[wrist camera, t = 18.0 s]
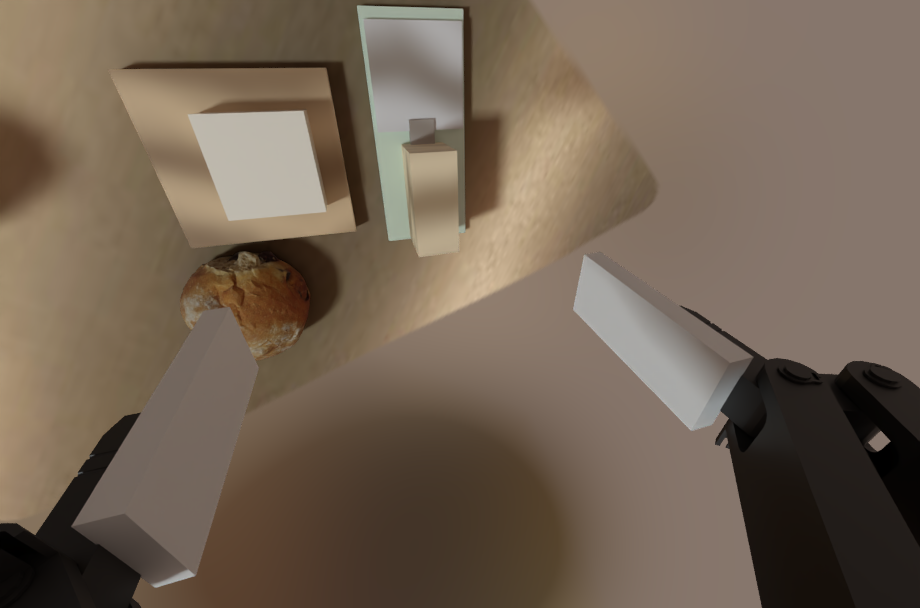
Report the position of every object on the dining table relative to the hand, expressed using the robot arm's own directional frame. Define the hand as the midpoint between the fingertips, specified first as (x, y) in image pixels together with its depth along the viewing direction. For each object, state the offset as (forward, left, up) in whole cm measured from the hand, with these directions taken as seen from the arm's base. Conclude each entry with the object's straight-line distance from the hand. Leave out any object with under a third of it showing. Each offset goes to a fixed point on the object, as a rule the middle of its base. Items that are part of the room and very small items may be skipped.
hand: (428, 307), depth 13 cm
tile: (-3, -12, -19) cm, 22 cm away
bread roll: (+9, -13, -21) cm, 27 cm away
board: (-3, -10, -21) cm, 23 cm away
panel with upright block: (-3, +3, -20) cm, 21 cm away
